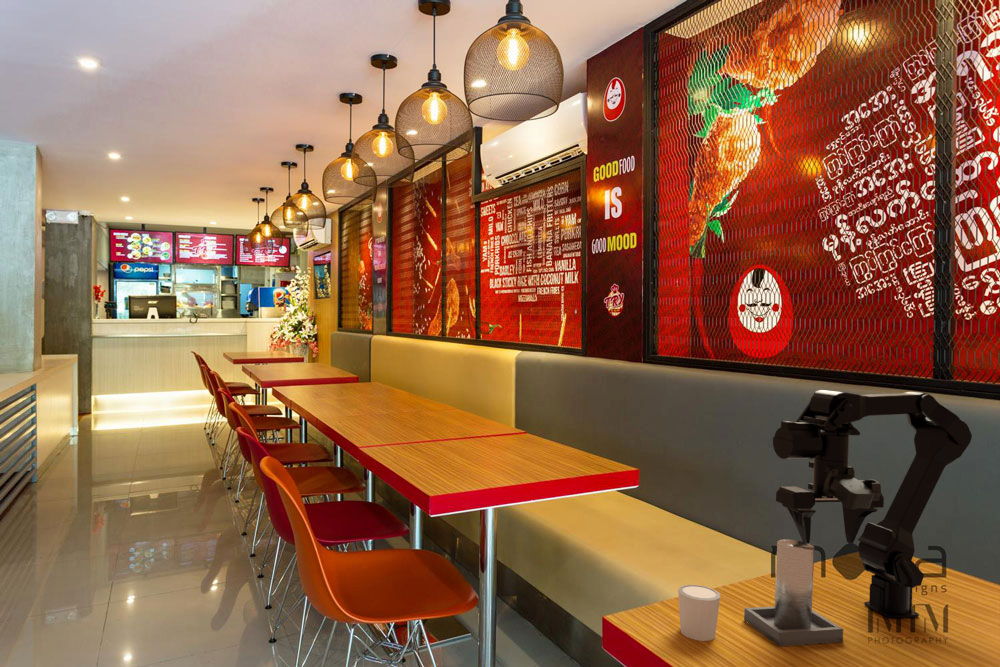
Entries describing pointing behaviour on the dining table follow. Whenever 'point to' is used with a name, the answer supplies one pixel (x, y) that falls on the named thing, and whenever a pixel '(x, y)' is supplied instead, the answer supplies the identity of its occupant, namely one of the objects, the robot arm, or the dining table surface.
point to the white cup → (698, 611)
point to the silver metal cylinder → (794, 585)
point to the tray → (818, 633)
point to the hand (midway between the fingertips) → (828, 543)
